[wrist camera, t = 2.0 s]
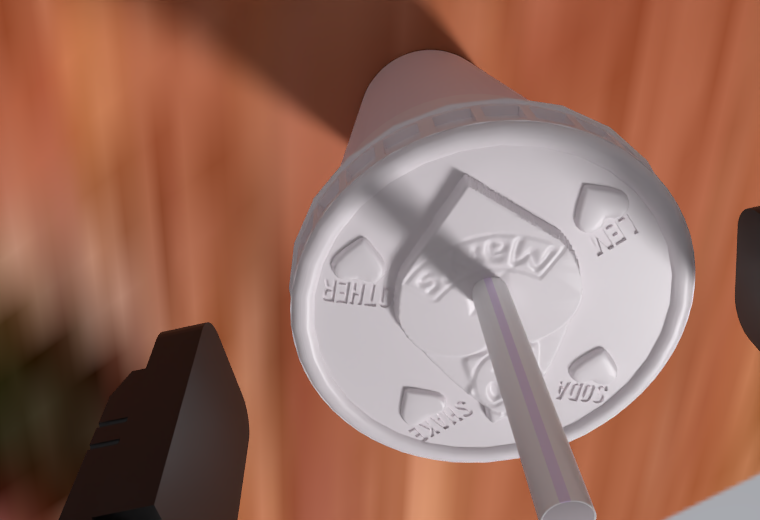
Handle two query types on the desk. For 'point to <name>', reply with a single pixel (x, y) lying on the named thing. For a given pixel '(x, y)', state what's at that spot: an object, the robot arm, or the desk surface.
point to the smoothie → (487, 276)
